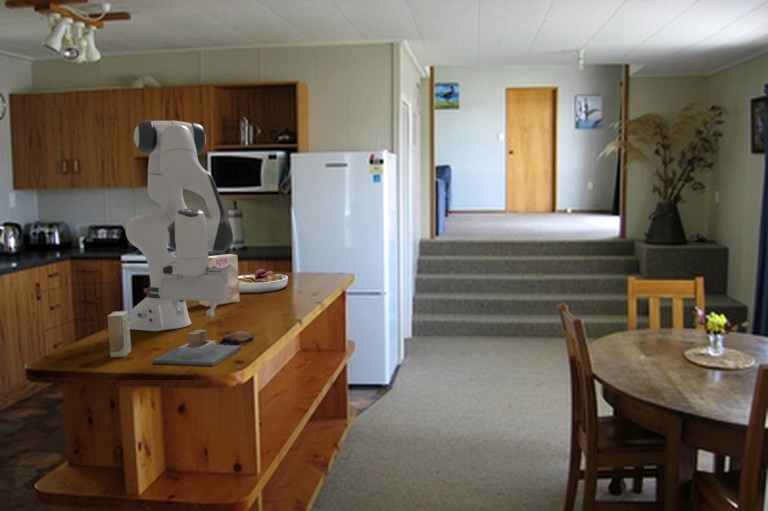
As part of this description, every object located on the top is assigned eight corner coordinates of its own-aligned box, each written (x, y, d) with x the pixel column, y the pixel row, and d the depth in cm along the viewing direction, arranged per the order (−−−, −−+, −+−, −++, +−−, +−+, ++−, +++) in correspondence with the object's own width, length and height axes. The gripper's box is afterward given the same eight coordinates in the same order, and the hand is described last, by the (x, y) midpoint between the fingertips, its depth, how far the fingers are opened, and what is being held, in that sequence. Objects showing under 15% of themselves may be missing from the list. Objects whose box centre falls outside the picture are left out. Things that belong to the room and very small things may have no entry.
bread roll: (240, 338, 214) (239, 326, 214) (259, 340, 210) (259, 329, 210) (215, 345, 206) (214, 333, 205) (235, 348, 201) (234, 336, 201)
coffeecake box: (206, 306, 268) (204, 258, 265) (198, 304, 273) (196, 257, 271) (240, 301, 277) (238, 254, 275) (231, 299, 283) (229, 253, 281)
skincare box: (116, 352, 198) (113, 311, 196) (131, 351, 198) (129, 310, 197) (109, 357, 191) (106, 315, 190) (125, 357, 192) (122, 314, 190)
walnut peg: (197, 350, 193) (196, 329, 193) (207, 350, 193) (206, 330, 192) (189, 354, 189) (187, 333, 188) (198, 354, 188) (197, 334, 187)
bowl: (282, 293, 296) (281, 276, 295) (214, 295, 297) (214, 277, 296) (292, 283, 326) (291, 267, 325) (231, 284, 326) (230, 268, 326)
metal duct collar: (152, 363, 184) (151, 351, 184) (185, 347, 201) (184, 335, 201) (213, 365, 180) (212, 353, 180) (241, 349, 198) (240, 337, 197)
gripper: (232, 266, 189) (234, 314, 191) (166, 264, 193) (168, 312, 195) (222, 269, 183) (224, 319, 184) (154, 268, 187) (156, 316, 189)
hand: (195, 315), depth 190 cm, fingers open, 8 cm apart
